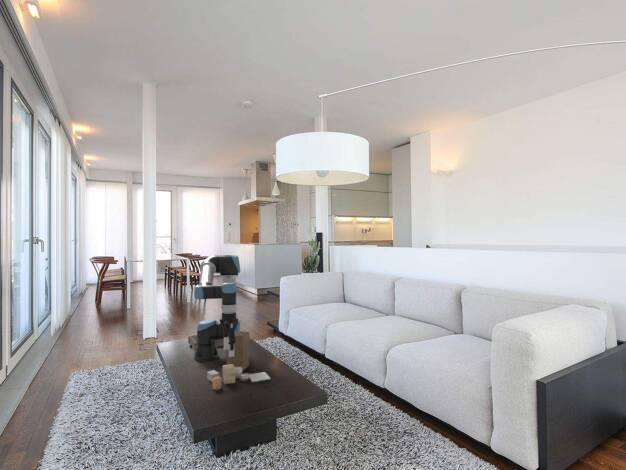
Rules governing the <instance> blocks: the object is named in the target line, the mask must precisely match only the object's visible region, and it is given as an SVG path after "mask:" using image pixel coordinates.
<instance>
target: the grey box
mask: <svg viewBox="0 0 626 470" xmlns="http://www.w3.org/2000/svg"><path fill="white" fill-rule="evenodd" d="M206 373H207V375H206V376H207V377H206V379H207V380H208V381H210V382H211V383H213V378H214V377H220V372H218V371H217V370H216V369H213V370H209V371H206Z"/></svg>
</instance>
